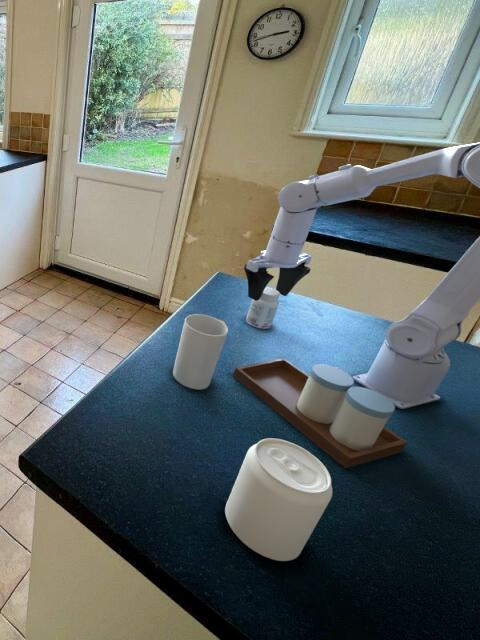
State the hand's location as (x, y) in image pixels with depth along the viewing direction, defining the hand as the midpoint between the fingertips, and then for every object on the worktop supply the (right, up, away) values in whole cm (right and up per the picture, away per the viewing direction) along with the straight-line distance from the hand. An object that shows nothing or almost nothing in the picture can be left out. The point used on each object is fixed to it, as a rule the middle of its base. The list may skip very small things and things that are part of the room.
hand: (267, 296), depth 90 cm
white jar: (-8, -17, -21) cm, 29 cm away
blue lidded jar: (-6, -20, -26) cm, 33 cm away
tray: (-8, -17, -20) cm, 28 cm away
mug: (-22, -14, -12) cm, 29 cm away
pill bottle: (0, -7, +3) cm, 7 cm away
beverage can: (-29, -26, -38) cm, 54 cm away
